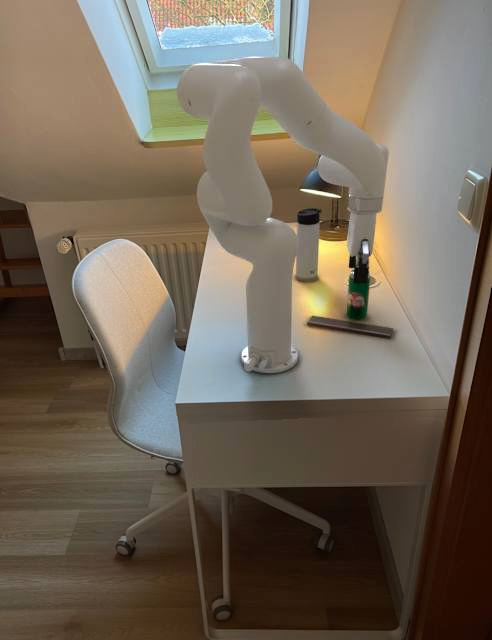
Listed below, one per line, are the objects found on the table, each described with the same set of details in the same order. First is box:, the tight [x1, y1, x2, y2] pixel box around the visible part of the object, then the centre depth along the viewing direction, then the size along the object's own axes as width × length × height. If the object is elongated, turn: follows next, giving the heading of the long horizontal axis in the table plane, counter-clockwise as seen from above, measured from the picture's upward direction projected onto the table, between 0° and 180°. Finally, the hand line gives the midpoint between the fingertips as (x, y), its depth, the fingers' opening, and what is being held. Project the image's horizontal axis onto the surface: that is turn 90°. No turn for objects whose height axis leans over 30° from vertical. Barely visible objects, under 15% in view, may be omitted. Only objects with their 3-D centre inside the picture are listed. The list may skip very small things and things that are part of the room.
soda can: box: [345, 269, 372, 321], centre depth 134 cm, size 5×5×12 cm
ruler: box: [306, 315, 394, 340], centre depth 132 cm, size 4×20×1 cm, turn 65°
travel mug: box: [295, 207, 322, 283], centre depth 154 cm, size 6×7×20 cm
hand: (357, 275), depth 131 cm, fingers open, 9 cm apart
